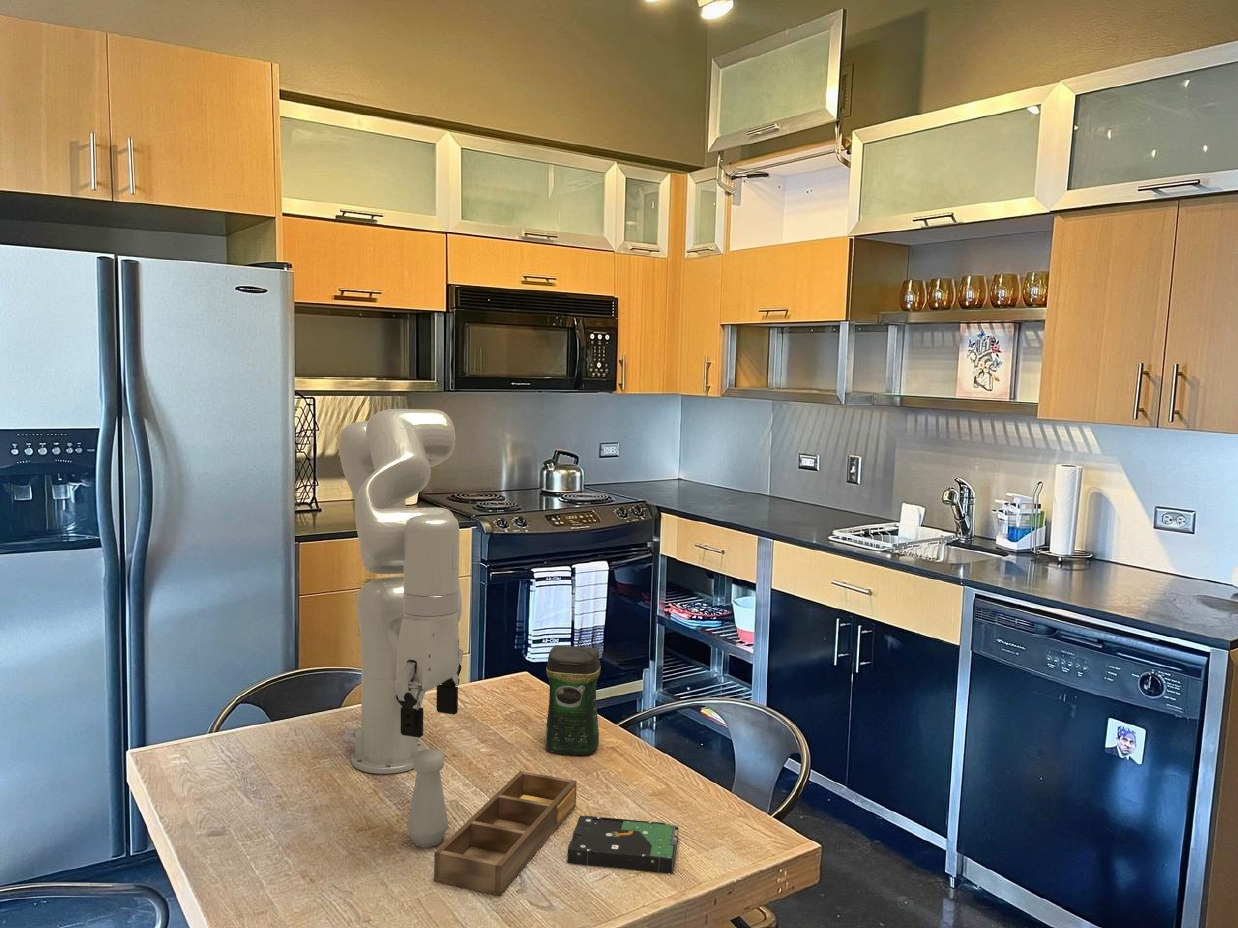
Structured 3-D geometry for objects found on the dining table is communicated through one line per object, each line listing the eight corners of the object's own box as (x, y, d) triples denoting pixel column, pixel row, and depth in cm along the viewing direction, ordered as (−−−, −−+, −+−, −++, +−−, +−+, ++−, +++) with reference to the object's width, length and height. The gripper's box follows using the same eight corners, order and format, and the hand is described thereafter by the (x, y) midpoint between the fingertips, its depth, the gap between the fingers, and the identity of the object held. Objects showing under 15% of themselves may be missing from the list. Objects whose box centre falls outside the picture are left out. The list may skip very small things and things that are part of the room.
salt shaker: (438, 853, 129) (439, 763, 128) (399, 847, 130) (400, 758, 129) (454, 833, 135) (455, 746, 133) (417, 828, 136) (418, 742, 134)
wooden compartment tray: (434, 881, 122) (434, 852, 121) (519, 794, 147) (520, 770, 147) (502, 896, 119) (503, 866, 118) (577, 805, 144) (578, 781, 144)
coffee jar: (601, 741, 170) (604, 643, 168) (593, 758, 162) (597, 655, 161) (550, 736, 172) (553, 639, 170) (540, 753, 164) (542, 651, 162)
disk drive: (566, 868, 127) (674, 877, 126) (566, 849, 127) (674, 857, 125) (578, 832, 137) (678, 839, 136) (578, 814, 137) (678, 821, 136)
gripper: (438, 589, 138) (436, 701, 139) (372, 614, 122) (372, 741, 123) (483, 594, 136) (481, 708, 137) (423, 620, 120) (422, 749, 121)
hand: (430, 723), depth 130 cm, fingers open, 9 cm apart
